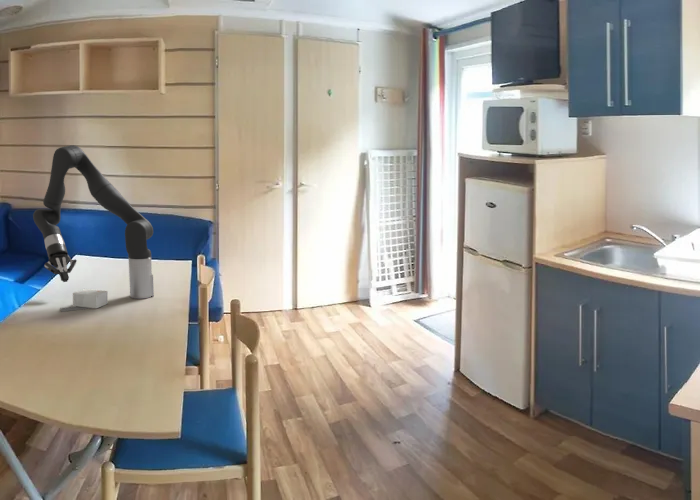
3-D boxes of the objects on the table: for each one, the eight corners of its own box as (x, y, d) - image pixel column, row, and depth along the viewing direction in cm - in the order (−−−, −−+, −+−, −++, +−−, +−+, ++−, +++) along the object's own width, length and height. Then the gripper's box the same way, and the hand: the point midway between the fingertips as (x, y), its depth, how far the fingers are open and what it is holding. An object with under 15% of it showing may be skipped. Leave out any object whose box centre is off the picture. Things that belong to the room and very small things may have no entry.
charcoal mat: (90, 305, 232) (90, 304, 232) (92, 308, 228) (92, 307, 228) (60, 308, 226) (60, 307, 226) (61, 311, 222) (61, 311, 222)
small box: (72, 306, 228) (96, 308, 227) (72, 292, 228) (96, 295, 226) (84, 301, 236) (107, 304, 235) (84, 288, 235) (107, 291, 234)
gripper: (39, 243, 238) (49, 278, 231) (73, 240, 246) (84, 273, 240) (37, 253, 243) (47, 287, 236) (70, 250, 251) (80, 283, 244)
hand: (65, 280), depth 238 cm, fingers closed
